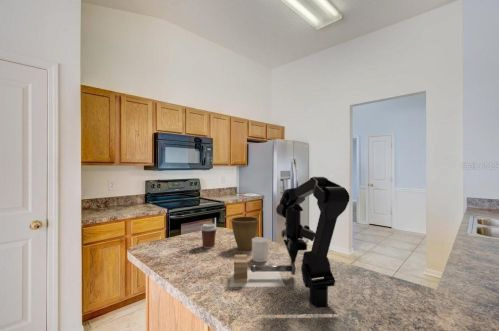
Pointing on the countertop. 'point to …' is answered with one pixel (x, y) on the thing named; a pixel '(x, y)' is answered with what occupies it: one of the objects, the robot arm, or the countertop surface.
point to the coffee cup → (208, 235)
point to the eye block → (240, 269)
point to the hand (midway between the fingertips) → (292, 261)
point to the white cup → (260, 249)
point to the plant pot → (244, 231)
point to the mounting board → (259, 279)
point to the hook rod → (275, 268)
